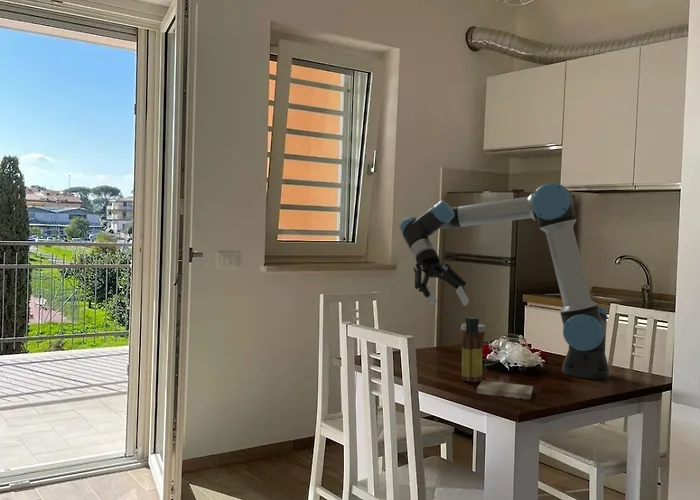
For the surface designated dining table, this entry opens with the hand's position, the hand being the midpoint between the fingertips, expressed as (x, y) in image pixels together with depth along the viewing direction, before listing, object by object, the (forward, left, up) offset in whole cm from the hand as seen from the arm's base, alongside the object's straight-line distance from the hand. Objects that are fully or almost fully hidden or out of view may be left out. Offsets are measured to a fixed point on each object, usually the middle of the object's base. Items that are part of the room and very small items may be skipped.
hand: (450, 304), depth 217 cm
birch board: (-20, +17, -23) cm, 35 cm away
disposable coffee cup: (-3, -34, -23) cm, 41 cm away
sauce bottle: (-9, +7, -23) cm, 26 cm away
